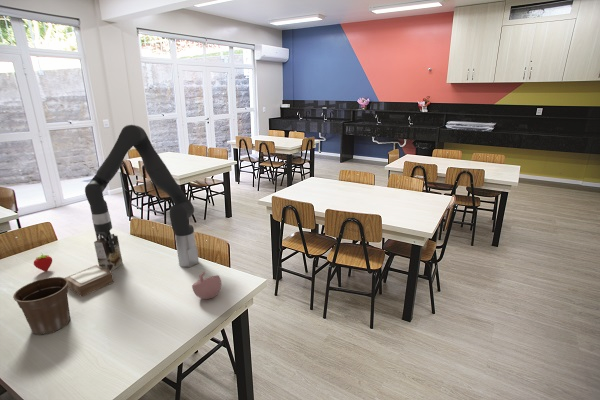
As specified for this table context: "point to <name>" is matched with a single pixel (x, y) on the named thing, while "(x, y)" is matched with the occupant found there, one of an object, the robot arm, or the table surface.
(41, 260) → the strawberry
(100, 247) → the coffee box
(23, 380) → the table surface
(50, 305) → the plant pot
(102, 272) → the plinth
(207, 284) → the pink apple
